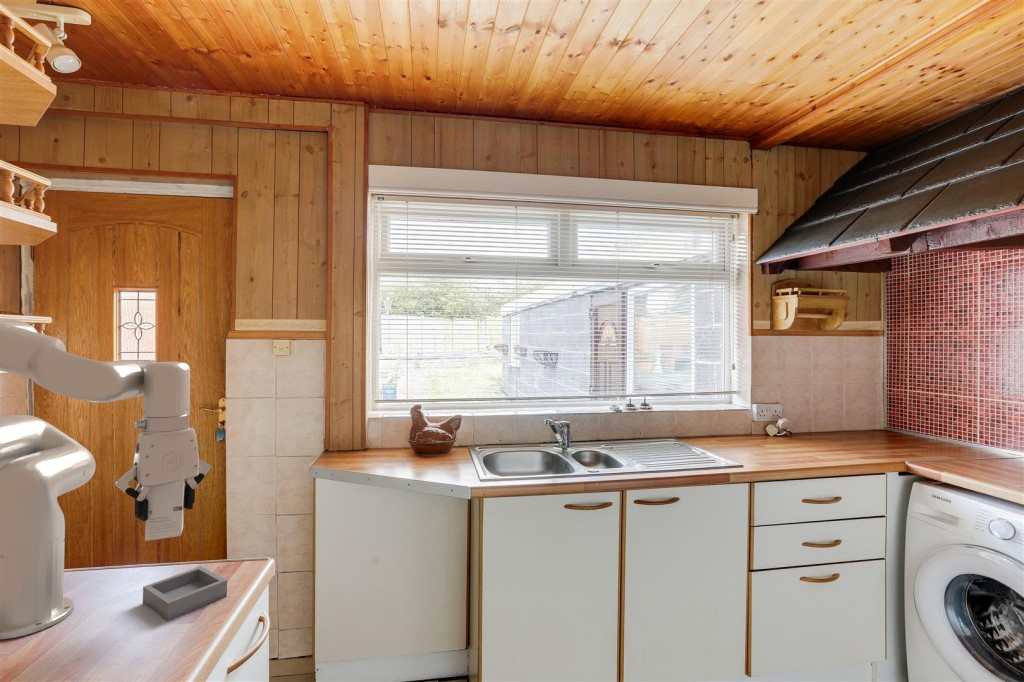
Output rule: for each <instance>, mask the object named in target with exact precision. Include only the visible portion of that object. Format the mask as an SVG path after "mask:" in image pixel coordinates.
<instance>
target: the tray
mask: <svg viewBox="0 0 1024 682" xmlns="http://www.w3.org/2000/svg"><path fill="white" fill-rule="evenodd" d="M227 594H228V579H226V578H224V577H222V576H221V575H218V574H217V573H215V572H213V571H211V570H209V569H207V568H205V567H204V566H202V565H200V566H198V567H195V568H192V569H189V570H187V571H183V572H181V573H177V574H175V575H173V576H172V575H171V576H170V577H166V578H163V579H161V580H159V581H155V582H153V583H150V584H147V585H144V586H143V587H142V604H143V606H145V607H147V608H148V609H149V610H151V611H152V612H154V613H155V614H156V615H158V616H159V617H161V618H162V619H164V620H165V621H166V622H170V621H172V620H174V619H177V618H180V617H182V616H185V615H187V614H189V613H191V612H194V611H196V610H198V609H200V608H203V607H206V606H208V605H211V604H213V603H214V602H218V601H221V600H222V599H225V598H227V597H228V595H227ZM224 597H225V598H224ZM217 600H218V601H217Z"/></svg>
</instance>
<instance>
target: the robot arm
mask: <svg viewBox="0 0 1024 682" xmlns="http://www.w3.org/2000/svg"><path fill="white" fill-rule="evenodd" d="M66 351H67V349H66V346H65V344H64V342H63V340H61V339H59V338H58V337H55V336H53V335H52V336H51V335H48V334H44V333H41V332H38V330H37V329H36V327H34V326H32V325H31V324H29V323H27V322H26V321H22V320H18V319H12V318H11V319H10V318H0V371H1V372H4V373H8V374H13V375H16V376H20V377H24V378H27V379H31V380H32V381H33V382H34V383H35V384H37V385H38V386H40V387H41V388H43V389H45V390H46V391H49V392H51V393H54V394H58V395H61V396H66V397H69V398H73V399H77V400H82V401H85V402H89V403H90V402H91V403H97V404H98V403H99V404H101V403H102V404H103V403H110V402H111V403H112V402H117V401H121V400H127V399H128V400H129V399H134V398H139V397H143V398H142V399H143V400H142V401H143V403H142V404H143V405H142V408H143V412H142V413H143V415H142V417H141V419H140V420H138V421H134V423H133V427H134V429H136V430H137V429H140V430H141V431H142V432H140V433H139V434H138V437H137V440H136V445H135V449H134V455H133V465H132V467H131V468H130V469H129V470H128V471H127V472H125V473H124V474H123V475H122V476H121V477H120V478H119V479H117V480H116V481H115V483H114V485H115V487H117V488H118V489H120V490H121V491H122V492H123V493H124V494H126V495H128V496H129V497H130V498H132V499H134V516H135V517H136V518H137V519H138V520H140V521H141V522H146V521H147V520H148V500H147V493H148V491H149V490H150V488H151V487H152V486H158V485H163V484H168V483H173V482H177V481H179V480H181V479H182V475H184V480H185V492H184V509H186V510H189V511H190V510H193V506H194V505H193V504H195V502H196V501H195V500H196V497H195V496H196V492H195V491H196V489H197V488H198V487H199V484H200V483H201V482H202V481H203V480H204V479H205V476H206V475H207V474H208V473H209V471H210V470H211V468H212V465H211V464H209V463H208V462H206V461H205V460H202V459H201V458H200V454H199V447H198V439H197V434H196V430H195V428H193V427H190V423H191V422H190V421H191V420H190V419H191V418H190V417H191V416H190V413H191V409H190V408H191V405H190V404H191V368H190V367H191V366H190V365H189V364H188V363H186V362H181V361H157V362H156V361H155V362H152V361H145V360H138V359H137V360H135V359H129V360H112V361H100V360H96V359H91V358H87V357H84V356H83V357H82V356H79V355H76V354H72V353H70V352H66ZM96 465H97V463H96V460H95V458H94V456H93V453H91V452H90V451H89V450H88V449H87V448H86V447H85V446H83V445H82V443H81V444H80V443H79V442H78V441H77V440H75V439H73V438H72V437H70V436H69V435H68V434H66V433H65V432H63V431H62V430H60V429H58V428H57V427H55V426H54V425H52V424H51V423H49V422H47V421H46V420H44V419H42V418H40V417H37V416H35V415H34V416H33V415H30V414H11V415H10V414H9V415H5V416H0V640H9V639H15V638H19V637H23V636H27V635H30V634H34V633H37V632H40V631H42V630H45V629H47V628H49V627H52V626H54V625H56V624H58V623H59V622H61V621H63V620H64V619H65V618H67V617H68V616H69V615H70V614H71V613H72V612H73V610H74V605H75V603H74V601H73V600H72V599H71V598H68V597H64V585H65V582H64V581H65V543H66V542H65V541H66V536H65V535H66V522H65V521H66V520H65V515H64V512H63V510H62V509H61V507H60V505H59V502H58V497H60V496H62V495H64V494H66V493H69V492H71V491H73V490H76V489H78V488H80V487H82V486H84V485H85V484H86V483H88V482H89V481H90V480H91V479H92V477H93V476H94V474H95V472H96V468H97V467H96ZM131 481H133V482H134V483H136V484H137V486H136V487H135V488H133V487H132V486H131V485H129V482H131Z"/></svg>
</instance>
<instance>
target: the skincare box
mask: <svg viewBox="0 0 1024 682" xmlns="http://www.w3.org/2000/svg"><path fill="white" fill-rule="evenodd" d="M184 492H185V480H184V475H182V479H181V480H179V481H177V482H173V483H168V484H163V485H158V486H152V487H151V488H150V490H149V491H148V493H147V495H146V499H147V500H148V520H147V521H145V524H144V525H145V528H144V529H145V530H144V541H145V542H146V541H147V542H149V541H153V540H161V539H168V538H174V537H176V538H177V537H180V536H182V533H183V529H184V515H185V513H184V511H185V508H184Z"/></svg>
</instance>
